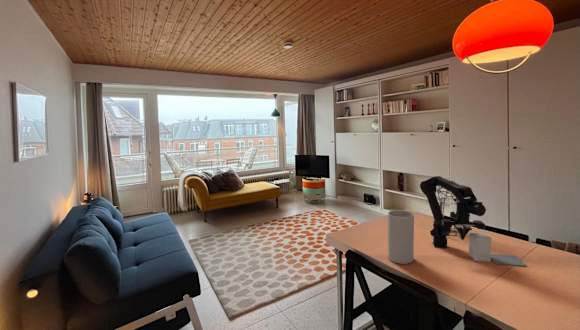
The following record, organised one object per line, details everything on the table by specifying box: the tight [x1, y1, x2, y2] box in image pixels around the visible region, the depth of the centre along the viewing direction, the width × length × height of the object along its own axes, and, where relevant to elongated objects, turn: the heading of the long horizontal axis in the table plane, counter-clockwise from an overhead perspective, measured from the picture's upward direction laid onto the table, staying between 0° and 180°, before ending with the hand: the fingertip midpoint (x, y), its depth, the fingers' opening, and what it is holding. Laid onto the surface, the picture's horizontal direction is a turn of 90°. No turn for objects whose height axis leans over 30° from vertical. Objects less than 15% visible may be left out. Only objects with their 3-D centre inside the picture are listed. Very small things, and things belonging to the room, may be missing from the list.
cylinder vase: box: [387, 209, 415, 265], centre depth 144 cm, size 12×12×25 cm
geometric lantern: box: [436, 180, 463, 237], centre depth 174 cm, size 16×16×35 cm
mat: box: [491, 253, 528, 268], centre depth 139 cm, size 13×11×1 cm
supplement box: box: [468, 232, 492, 263], centre depth 141 cm, size 7×7×13 cm
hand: (462, 239), depth 143 cm, fingers closed
